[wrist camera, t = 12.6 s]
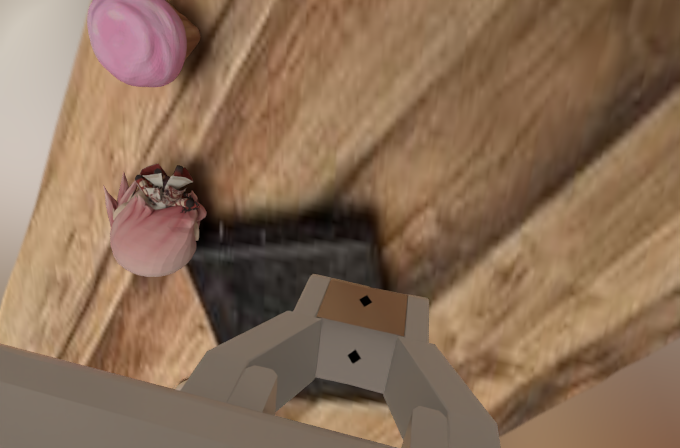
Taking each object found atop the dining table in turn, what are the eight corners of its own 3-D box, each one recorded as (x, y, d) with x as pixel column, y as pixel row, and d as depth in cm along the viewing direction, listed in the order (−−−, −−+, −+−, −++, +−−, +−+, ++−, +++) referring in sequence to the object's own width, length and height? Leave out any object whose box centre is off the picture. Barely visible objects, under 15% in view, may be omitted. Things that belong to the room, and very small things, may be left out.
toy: (121, 128, 48) (107, 231, 55) (83, 162, 39) (71, 281, 46) (222, 159, 52) (197, 252, 58) (209, 197, 42) (181, 303, 49)
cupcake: (229, 27, 42) (176, 30, 33) (194, 95, 46) (138, 113, 37) (157, -32, 41) (82, -46, 32) (127, 42, 45) (54, 48, 36)
